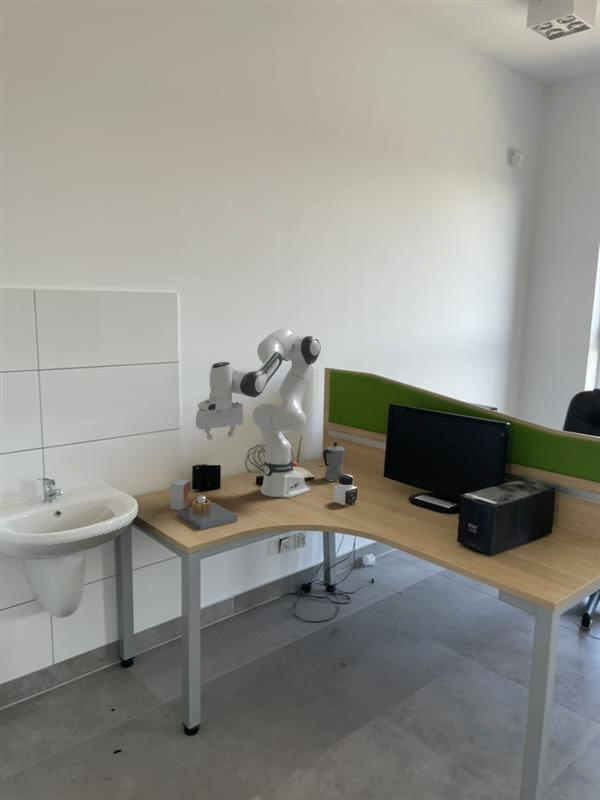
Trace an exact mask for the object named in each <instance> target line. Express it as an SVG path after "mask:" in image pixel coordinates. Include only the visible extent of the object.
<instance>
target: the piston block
mask: <svg viewBox="0 0 600 800" xmlns="http://www.w3.org/2000/svg"><path fill="white" fill-rule="evenodd" d="M206 499H207V497H206V496H205V495H202V494H201V495H197V497H196V500H197V503H198V504H204V503H205V501H206ZM176 513H177V514H176V516H177V517H179V518H180V519H182V520H183V521H185V522H186V523H188V524H190V525H191V526H193V527H195V528H196V529H197V530H200V531H203V530H207V529H212V528H215V527H220V526H223V525H229V524H232V523H237V522H238V517H239V515H238V514H236V513H234V512H233V511H230V509H229V510H228V509H226V508H225V507H223V506H221V505H219V504H218V503H215V502H214V501H213V502H211V507H210V510H209V511H206V512H195V511H194V510H192V506H188V507H187V508H183V509H178V510H176Z"/></svg>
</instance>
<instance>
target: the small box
mask: <svg viewBox="0 0 600 800" xmlns="http://www.w3.org/2000/svg"><path fill="white" fill-rule="evenodd" d="M191 483H192V482H191V480H190V479H183V478H177V479H176V480H175V481H174V482H172V483H170V510H174V511H175V510H176V511H177V510H178V509H183V508H188V507H190V505H191V495H192V494H191V493H192V492H191V491H192V490H191Z"/></svg>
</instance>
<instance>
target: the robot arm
mask: <svg viewBox="0 0 600 800" xmlns="http://www.w3.org/2000/svg"><path fill="white" fill-rule="evenodd" d="M321 350H322V349H321V343H320V341H319V339H318V338H316V337H314V336H310V335H307V336H304V335H297V336H294V333H293V332H292V331H291V330H290V329H288V328H285V327H284V328H283V327H282V328H279V329H277V330H275V331H273V332H272V333H270V334H268V335H267V336H266V337H265V338H264V339H263V340H261V342H260V343H259V344H258V346H257V351H256V352H257V356H258V359H259V360H260V361H261V362H262V365H261V366H260V367H259V368H258V369H257V370H251V371H250V370H242V369H239V368H236V367H234V366H233V365H232V363H230V362H229V361H220V362H219V361H218V362H216V363H213V364H212V366H211V368H210V372H209V387H210V391H209V398H207V399H205V400H203V401H201V402H198V403H197V409H198V410H197V412H196V418H195V427H196V428H197V429H199V430H204V432H205V434H206V440H209V441H210V440H213V436H214V435H213V434H211V433H210V432H211V429H217V428H218V429H219V428H226V427H227V428H228V427H229V428H230V429H229V431H228V432H227V437H228V438H233V437H234V432H235V430H236V427H237V426H242V425H243V423H245V421H244V420H245V418H244V405H243V404H242V403H241V402H240V401H237V402H233V394H237V395H243V396H246V397H250V398H257V397H259V396H260V395H261V394H262V393H263V391H264V389H265V388H266V386H267V385H268V383H269V381H270V380H271V379H272V377H273V376H274V375H275V374H276V372H277V371H278V370H279V369H280V367H281V365H282V363H283V361H286V362H289V361H291V365H290V369H289V370H288V371H287V373H286V375H285V377H284V379H283V381H282V383H281V385H280V387H279V388H278V391H279V392H278V393H279V396H280V398H281V399H282V400H283V402H282V404H280V405H279V404H273V403H263V404H262V403H261V404H258V405H256V406H255V408H254V409H253V413H252V421H253V422H254V424H255V425H256V426H257V428H258V429H259V430H260V432H261V435H262V439H263V440H264V452H265V453H264V458H265V459H264V461H263V474H264V475H263V481H262V486H261V489H260V493H261V494H262V495H264V496H266V497H271V498H272V497H273V498H283V499H286V498H287V499H291V498H293V497H297V496H300V495H303V494H305V493H308V492H310V491H311V488H310V487H309V486H307V485H306V483H305V481H306V480H305V477H304V476H303V475H302V474H300V473H299V472H298V471H296V470H295V469H294V467H295V468H296V467H298V465H299V464H298V462H296V461H291V451H292V449H291V448H292V447H291V446H292V445H291V443H290V441H289V440H288V439H287V438H286V437H285V436H284V434H283V432H284V433H289V434H290V433H291V434H292V433H300V432H302V431H303V430H304V428H305V426H306V424H307V417H306V414H305V411H303V408H302V407H303V406H302V403H303V399H304V397H305V395H306V393H307V390H308V387H309V385H310V384H311V381H312V377H313V374H314V366H313V364H315V363H316V362H317V359H318V357H319V356H320V353H321Z"/></svg>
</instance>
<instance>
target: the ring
mask: <svg viewBox="0 0 600 800" xmlns="http://www.w3.org/2000/svg"><path fill="white" fill-rule="evenodd" d="M211 503H212V502H211V500H209V499H207V498H206V501H205V503H204V504H198V503H197V499H194V500H193V501H192V504H191V505H192V506H191V507H192V510H194V511H195V512H206V511H209V510H210V507H211Z"/></svg>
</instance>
